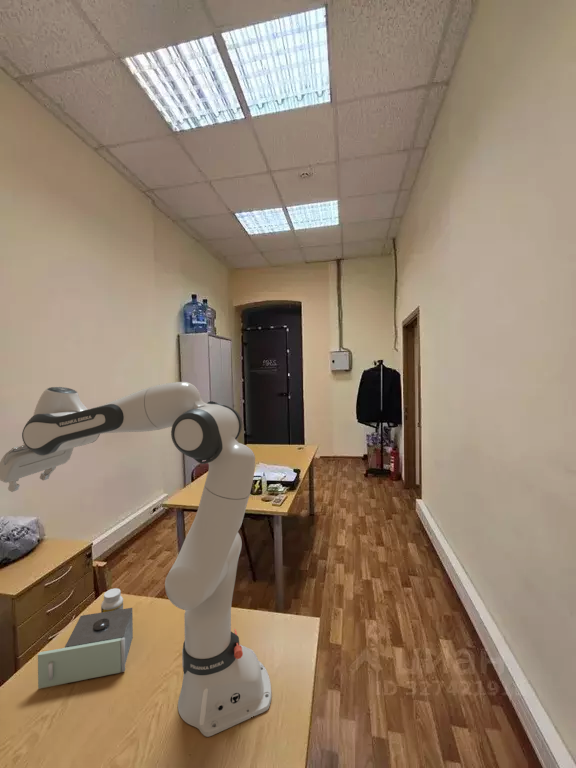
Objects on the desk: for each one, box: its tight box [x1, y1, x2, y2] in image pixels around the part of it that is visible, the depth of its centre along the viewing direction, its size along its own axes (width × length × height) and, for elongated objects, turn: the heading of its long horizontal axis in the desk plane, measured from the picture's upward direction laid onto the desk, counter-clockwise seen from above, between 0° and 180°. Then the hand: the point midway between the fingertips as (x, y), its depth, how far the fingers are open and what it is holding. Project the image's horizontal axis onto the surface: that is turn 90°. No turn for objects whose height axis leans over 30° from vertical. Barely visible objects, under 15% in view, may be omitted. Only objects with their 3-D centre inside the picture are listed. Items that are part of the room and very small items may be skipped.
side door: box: [37, 637, 126, 690], centre depth 87 cm, size 20×2×8 cm, turn 104°
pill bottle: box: [100, 587, 124, 613], centre depth 107 cm, size 6×6×11 cm
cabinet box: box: [64, 607, 134, 665], centre depth 95 cm, size 14×12×10 cm
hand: (28, 484), depth 96 cm, fingers open, 8 cm apart
